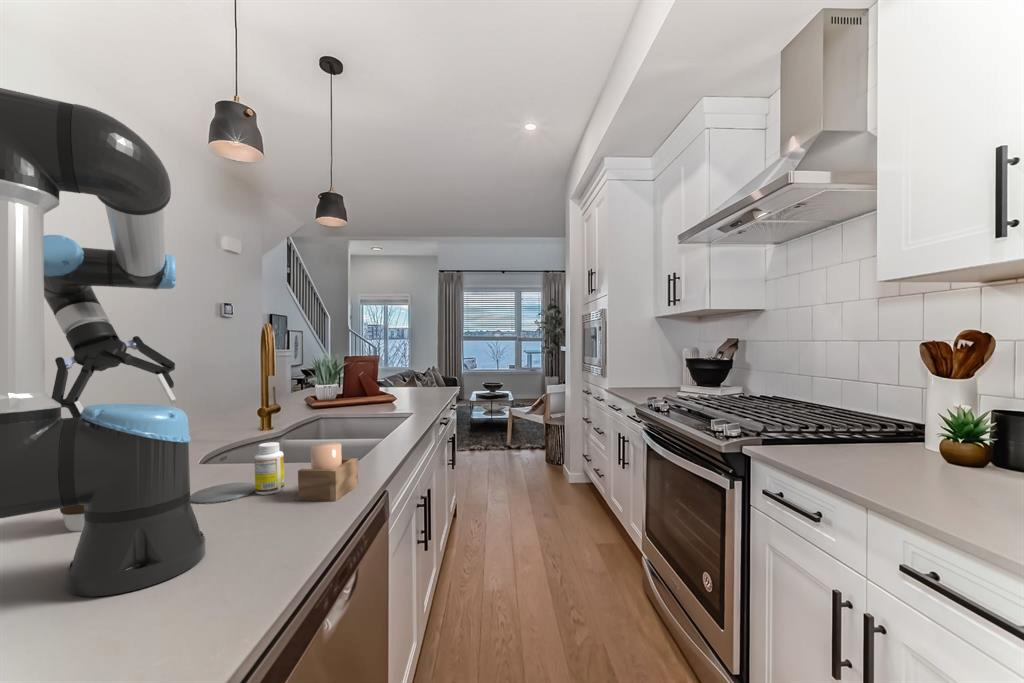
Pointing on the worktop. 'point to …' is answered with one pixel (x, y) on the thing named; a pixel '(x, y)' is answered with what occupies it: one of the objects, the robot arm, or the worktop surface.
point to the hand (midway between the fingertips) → (135, 416)
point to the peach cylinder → (326, 455)
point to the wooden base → (327, 481)
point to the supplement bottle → (269, 469)
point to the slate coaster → (222, 492)
